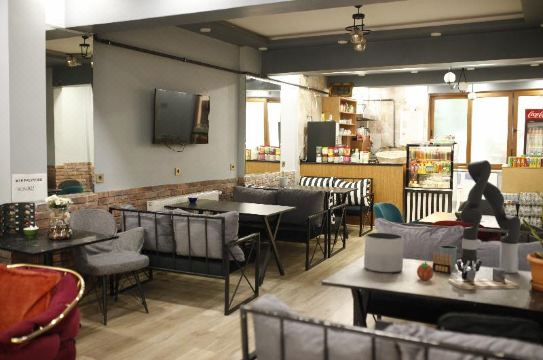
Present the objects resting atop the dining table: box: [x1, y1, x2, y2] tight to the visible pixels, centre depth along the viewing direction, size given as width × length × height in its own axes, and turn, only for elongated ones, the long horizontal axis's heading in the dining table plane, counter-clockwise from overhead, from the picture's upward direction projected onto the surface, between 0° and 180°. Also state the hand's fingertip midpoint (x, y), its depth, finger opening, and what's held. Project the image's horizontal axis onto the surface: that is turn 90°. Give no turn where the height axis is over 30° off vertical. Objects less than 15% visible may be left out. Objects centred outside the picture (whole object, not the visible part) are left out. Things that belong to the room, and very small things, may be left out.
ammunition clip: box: [431, 251, 452, 275], centre depth 301 cm, size 11×2×12 cm, turn 55°
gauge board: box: [447, 267, 520, 290], centre depth 276 cm, size 32×14×8 cm, turn 98°
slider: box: [461, 268, 476, 283], centre depth 276 cm, size 4×8×6 cm, turn 8°
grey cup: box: [439, 244, 458, 269], centre depth 318 cm, size 10×10×12 cm
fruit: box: [416, 261, 434, 281], centre depth 284 cm, size 9×10×10 cm
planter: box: [363, 232, 404, 274], centre depth 306 cm, size 22×22×20 cm
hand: (468, 279), depth 277 cm, fingers closed on slider, 4 cm apart
